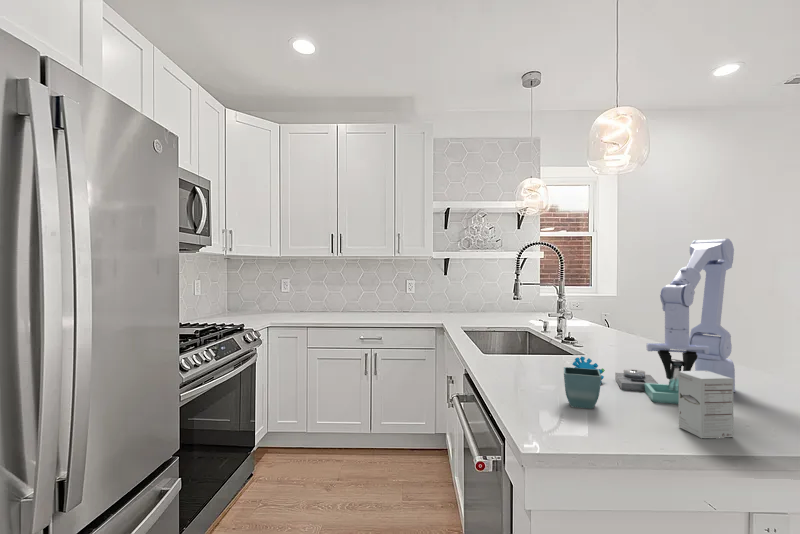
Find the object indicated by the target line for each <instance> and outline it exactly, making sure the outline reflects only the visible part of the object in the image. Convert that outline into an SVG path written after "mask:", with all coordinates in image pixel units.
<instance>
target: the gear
mask: <svg viewBox="0 0 800 534" xmlns="http://www.w3.org/2000/svg"><path fill="white" fill-rule="evenodd" d="M585 360H586V361H585ZM592 362H593V361H592V359H591V358H587V359H586V357H585V356H580V357H576V358H574V361H573V362H572V366H573V367H574V368H585V369H598V370H599V372H600V374H601V383H602V382H603V381H602V380H603V379H605V376H604V375H602V374H603V373H604V372H605V368H601V369H600V368H598V367H599V365H598V363H597V362H595V363H593V364H591V363H592Z"/></svg>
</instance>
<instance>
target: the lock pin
mask: <svg viewBox="0 0 800 534" xmlns="http://www.w3.org/2000/svg"><path fill="white" fill-rule="evenodd" d="M684 365H685V362H684V361H683V360H680V359H675V358H671V379H668V380H669V381H668V385H669V386H668V389H669V390H672V391H678V389H679V371H682V369H683V366H684Z"/></svg>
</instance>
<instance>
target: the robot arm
mask: <svg viewBox="0 0 800 534" xmlns="http://www.w3.org/2000/svg"><path fill="white" fill-rule="evenodd" d="M734 254H735V248H734V245H733V242H732V240H731V239H730V238H727V237H726V238H717V239H693V240H692V242H691V243H690V245H689V255H690V257H689V260H688V262H687V264H686V266H683V267H681V268H679V269H678V271H677V273H676V274H675V276H674V277H673V279H672V281H671V282H670V284H666V285H664V286H663V287H662V288H661V291H660V294H659V297H660V302H661V305H662V311H663V312H664V343H662V342H661V343H660V342H659V343H658V342H657V343H653V342H652V343H651V342H650V343H649V342H648V343H646V351H647V352H657V354H658V356H659V358H660V360H661V363H662V365H663V368H664V372H665V376H666V379H668V380H669V379H671V359H672V354H671V353H681V354H682V361H684V362H685V365H684V366H682V371H692V368H693V366H694V371H710V372H713V373H716V374H720V375H723V376H726V377H729V378H733V393H734V392H735V393H736V392H737V390H736V384H735V383H736V379H735V377H736V374H735V373H736V371H735V364H734V361H733V360H732V359H730V358H729V357H730V356H731V354H732V348H733V347H732V338H731V337H732V336H731V333H730V332H729V331H728V330H727V329H725V327H723V326H722V325H721V323H722V314H723V304H724V303H723V302H724V294H725V293H724V291H725V282H726V274H727V271H728V270H730V269H732V268H733V263H734ZM702 270H703V271H704V272H705V279H704V289H703V290H704V291H703V298H702V308H701V315H700V316H701V317H700V323H699V324H696V325H695V326H694V327H692V328H691V329H690V307H691V305H692V304H693V302H694V297H695V294H696V292H695V291H696V290H695V289H696V288H697V286H698V285H699V283H700V281H701V279H702V276H701V271H702Z"/></svg>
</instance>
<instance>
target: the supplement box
mask: <svg viewBox="0 0 800 534" xmlns="http://www.w3.org/2000/svg"><path fill="white" fill-rule="evenodd" d="M678 428H680V429H682V430H685V431H686V432H689V433H691V435H692V434H693V435H695V436H697V437H699V438H700V439H702V438H716V439H723V438H722V437H733V438H734V392H733V378H729V377H726V376H723V375H720V374H716V373H713V372H710V371H695V370H691V371H683V370H681V371H679V404H678ZM719 437H720V438H719Z"/></svg>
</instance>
